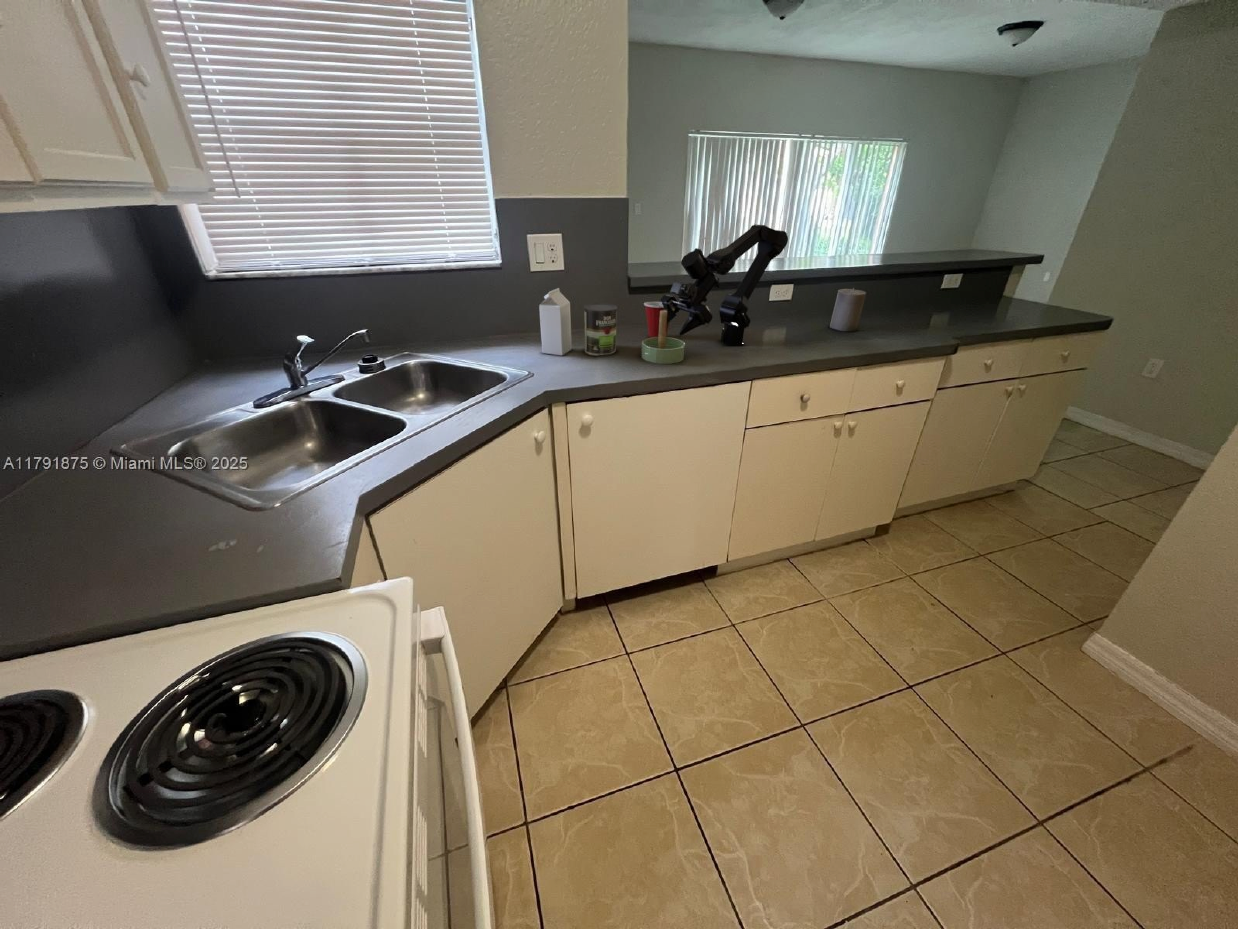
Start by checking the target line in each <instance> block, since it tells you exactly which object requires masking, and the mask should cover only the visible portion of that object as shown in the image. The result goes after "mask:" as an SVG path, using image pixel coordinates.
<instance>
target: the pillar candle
mask: <svg viewBox="0 0 1238 929" xmlns="http://www.w3.org/2000/svg"><path fill="white" fill-rule="evenodd" d="M866 295H867V292H866V291H864V290H861V289H855V287H853V288H840V289H838V290H837V295H836V299H835V304H834V307H833V312H832V315H831V320H830V324H829V328H830V329H832V330H836V331H838V332H849V333H850V332H856V331H857V329H858V325H859V321H860V318H861V314H862V310H863V306H864V303H865V299H866Z"/></svg>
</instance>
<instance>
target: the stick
mask: <svg viewBox="0 0 1238 929" xmlns="http://www.w3.org/2000/svg"><path fill="white" fill-rule="evenodd" d="M666 324H667V311H664V310H663V311H660V319H659V336H658V349H665V339H666V337H667V335H666Z"/></svg>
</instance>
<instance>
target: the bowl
mask: <svg viewBox="0 0 1238 929" xmlns="http://www.w3.org/2000/svg"><path fill="white" fill-rule="evenodd" d="M685 349H686V343H685V341H683V340H681V339H678V338H675V337H670V336H669V337H668V336H666V339H665V349H658V337H652V338H650V337H647V338H645V339H643V340H642V341H641V348H640V350H641V351H640V357H641V359H643V360H644V361H646V362H648V363H652V364H661V365H670V364H677V363H680V362H682V361H683V360H684V358H685V351H686V350H685Z"/></svg>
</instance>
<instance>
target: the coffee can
mask: <svg viewBox="0 0 1238 929" xmlns="http://www.w3.org/2000/svg"><path fill="white" fill-rule="evenodd" d="M583 310H584V311H583V312H584V314H583V315H584V353H585V354H587V355H590V356H595V357H599V356H600V355H601V356H603V355H611V354H614V353H615V352H616V351H617V314H618V312H617V310H618V306H617V305H615V304H611V303H605V302H604V303H603V302H599V303H598V302H597V303H589V304H585V305H584V306H583Z"/></svg>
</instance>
